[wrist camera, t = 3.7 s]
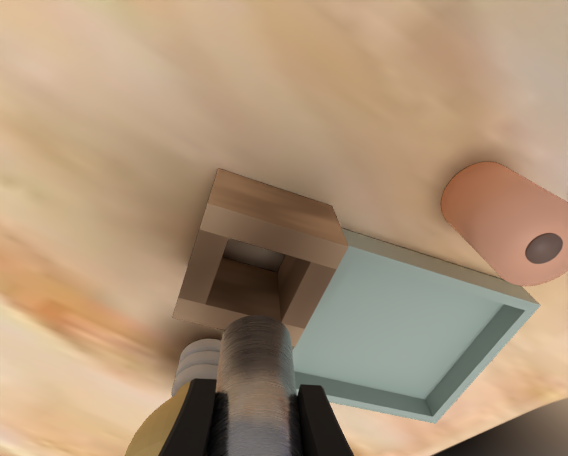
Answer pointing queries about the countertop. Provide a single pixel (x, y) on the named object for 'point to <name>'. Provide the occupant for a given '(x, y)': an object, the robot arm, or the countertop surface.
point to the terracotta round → (509, 222)
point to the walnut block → (267, 234)
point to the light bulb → (176, 396)
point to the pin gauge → (255, 392)
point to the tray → (405, 330)
